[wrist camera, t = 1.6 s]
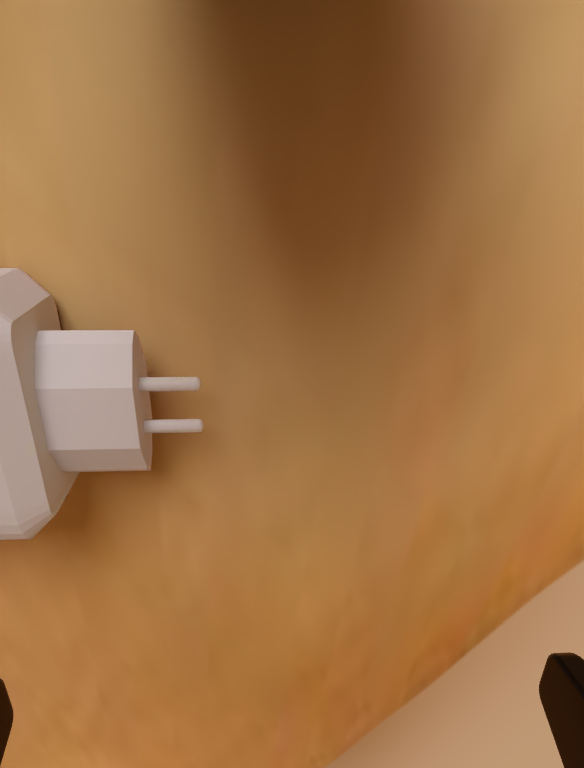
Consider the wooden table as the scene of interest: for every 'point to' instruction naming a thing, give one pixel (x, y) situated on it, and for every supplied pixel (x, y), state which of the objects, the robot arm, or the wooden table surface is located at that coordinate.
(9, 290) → the charger
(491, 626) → the wooden table surface
